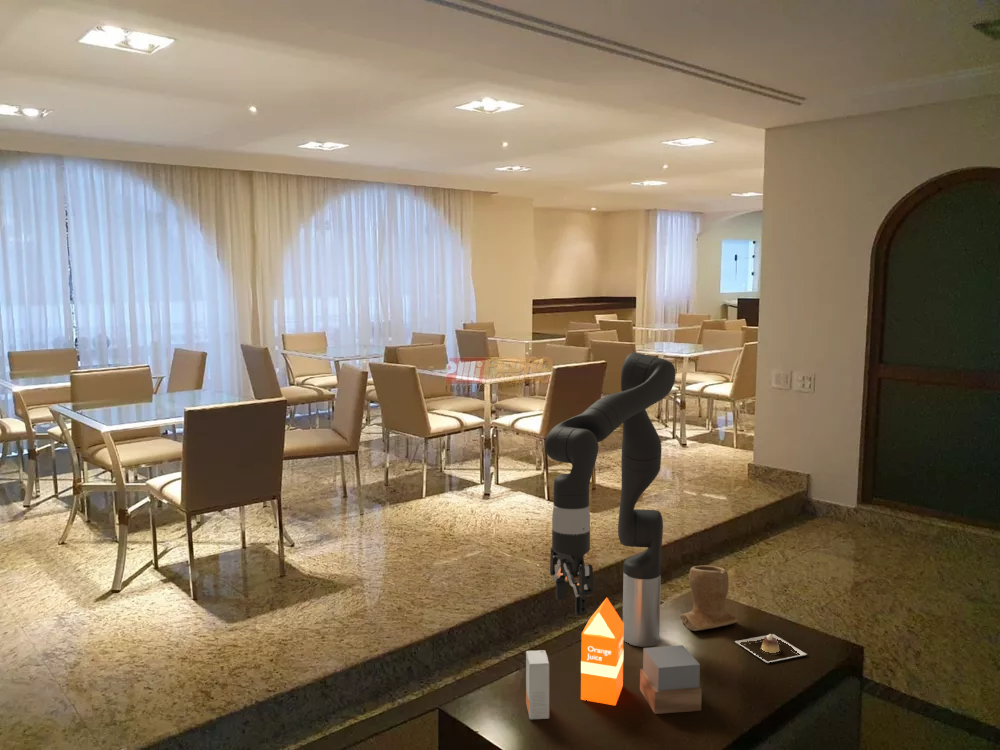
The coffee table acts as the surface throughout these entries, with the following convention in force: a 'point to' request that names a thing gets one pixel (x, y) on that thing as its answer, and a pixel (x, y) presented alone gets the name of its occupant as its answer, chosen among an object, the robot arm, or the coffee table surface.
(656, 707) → the walnut base block
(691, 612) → the stone cup
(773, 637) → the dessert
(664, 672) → the gray top block
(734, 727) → the coffee table surface
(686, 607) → the coffee table surface
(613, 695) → the orange juice
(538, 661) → the skincare box
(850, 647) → the coffee table surface
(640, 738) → the coffee table surface
